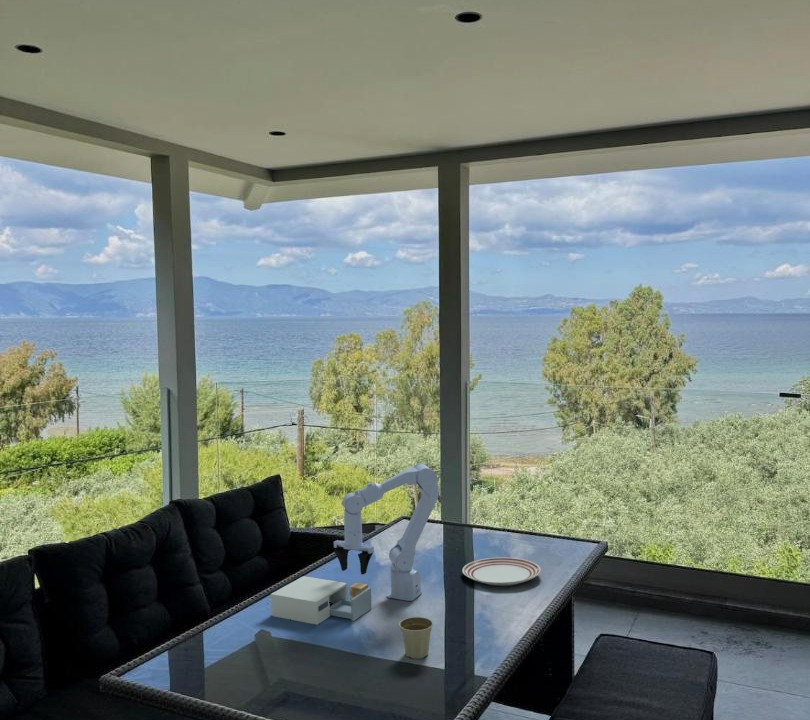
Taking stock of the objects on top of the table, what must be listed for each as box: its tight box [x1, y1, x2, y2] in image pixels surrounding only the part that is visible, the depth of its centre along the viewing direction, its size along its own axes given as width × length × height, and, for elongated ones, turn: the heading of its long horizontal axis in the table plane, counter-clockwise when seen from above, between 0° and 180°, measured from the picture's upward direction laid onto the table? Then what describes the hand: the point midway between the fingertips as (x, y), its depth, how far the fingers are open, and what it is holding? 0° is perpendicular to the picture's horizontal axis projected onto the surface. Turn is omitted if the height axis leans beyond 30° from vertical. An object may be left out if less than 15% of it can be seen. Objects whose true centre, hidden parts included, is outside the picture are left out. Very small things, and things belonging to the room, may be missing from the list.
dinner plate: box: [461, 556, 542, 587], centre depth 272 cm, size 27×27×3 cm
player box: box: [270, 575, 349, 626], centre depth 245 cm, size 17×18×7 cm
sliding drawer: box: [329, 587, 372, 622], centre depth 242 cm, size 10×11×7 cm
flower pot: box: [398, 616, 434, 660], centre depth 211 cm, size 9×9×9 cm
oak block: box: [348, 582, 369, 601], centre depth 253 cm, size 4×4×5 cm
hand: (353, 571), depth 252 cm, fingers open, 7 cm apart
